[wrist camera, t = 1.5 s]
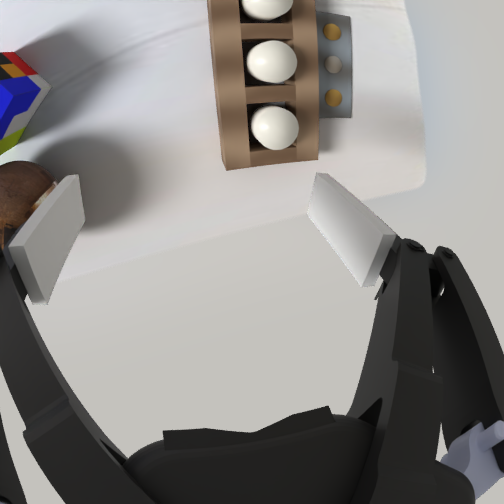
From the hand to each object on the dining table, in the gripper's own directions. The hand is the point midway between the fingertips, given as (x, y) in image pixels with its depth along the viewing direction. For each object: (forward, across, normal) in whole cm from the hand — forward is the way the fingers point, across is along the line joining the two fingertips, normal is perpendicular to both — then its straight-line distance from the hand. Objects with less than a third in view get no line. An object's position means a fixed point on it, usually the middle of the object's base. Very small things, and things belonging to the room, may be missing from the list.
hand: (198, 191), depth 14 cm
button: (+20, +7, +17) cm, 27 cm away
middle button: (+20, +8, +9) cm, 23 cm away
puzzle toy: (+23, -26, +7) cm, 35 cm away
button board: (+22, +12, +9) cm, 27 cm away
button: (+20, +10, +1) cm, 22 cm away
